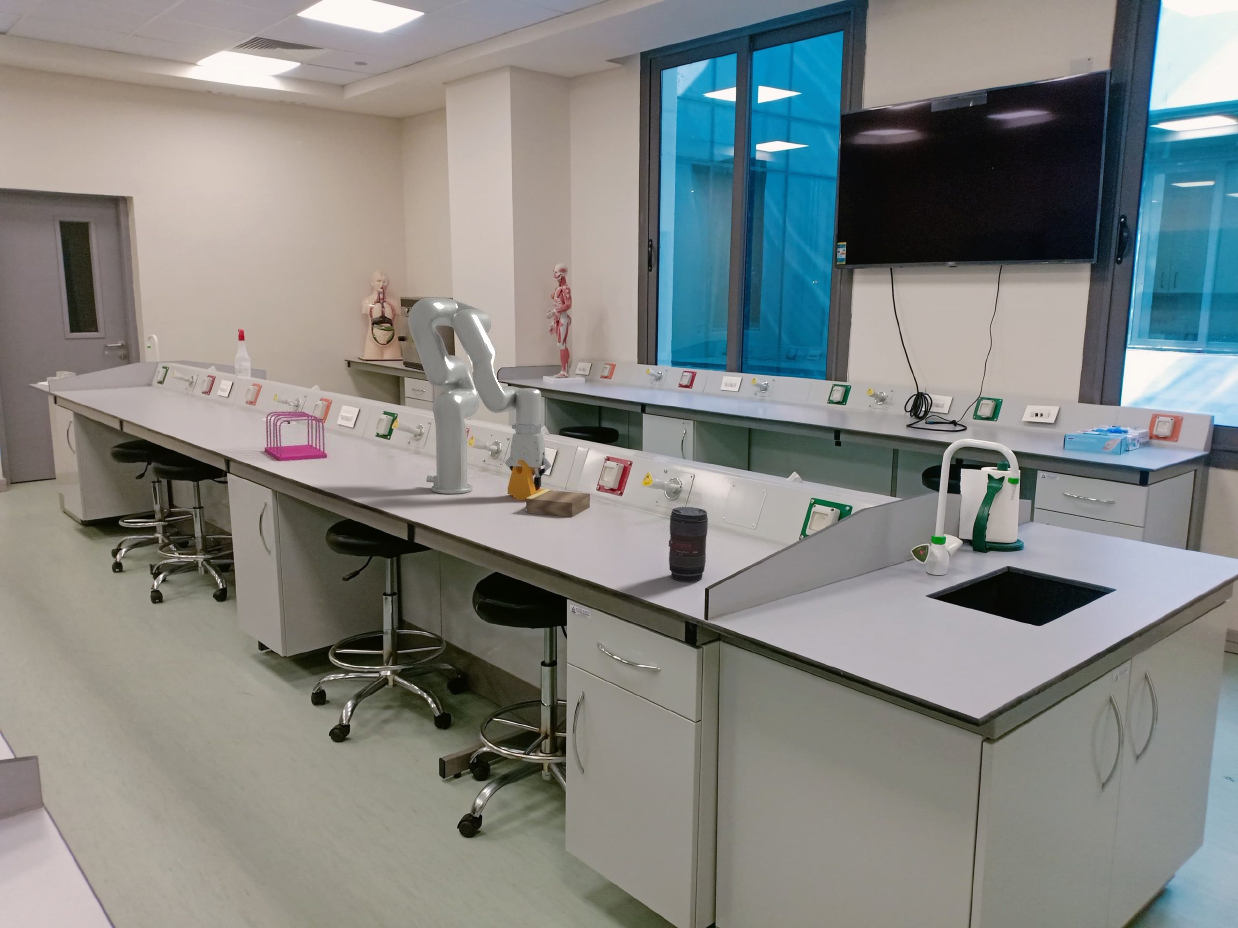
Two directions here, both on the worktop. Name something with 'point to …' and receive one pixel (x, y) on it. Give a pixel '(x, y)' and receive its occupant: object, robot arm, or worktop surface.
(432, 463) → the worktop surface
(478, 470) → the worktop surface
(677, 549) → the camera lens
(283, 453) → the file sorter
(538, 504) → the dock
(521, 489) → the bracket
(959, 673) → the worktop surface
